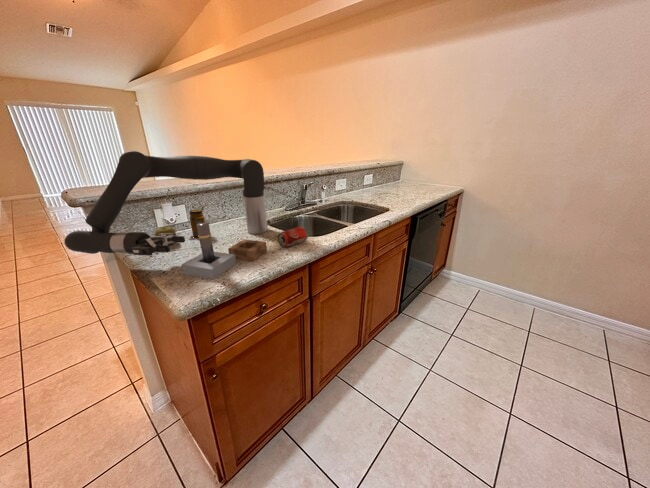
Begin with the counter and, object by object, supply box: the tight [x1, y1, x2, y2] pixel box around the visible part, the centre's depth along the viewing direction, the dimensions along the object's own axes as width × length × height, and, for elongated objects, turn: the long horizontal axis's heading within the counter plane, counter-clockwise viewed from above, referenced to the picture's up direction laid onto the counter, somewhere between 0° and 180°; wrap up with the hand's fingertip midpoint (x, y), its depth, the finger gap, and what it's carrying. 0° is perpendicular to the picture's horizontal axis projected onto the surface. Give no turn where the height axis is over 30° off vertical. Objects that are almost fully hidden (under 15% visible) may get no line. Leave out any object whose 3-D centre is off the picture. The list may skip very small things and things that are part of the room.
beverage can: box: [277, 225, 309, 248], centre depth 110 cm, size 7×12×7 cm, turn 137°
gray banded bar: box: [197, 222, 215, 264], centre depth 87 cm, size 4×4×16 cm
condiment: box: [189, 208, 206, 240], centre depth 119 cm, size 7×8×12 cm
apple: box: [154, 226, 177, 246], centre depth 111 cm, size 8×8×7 cm
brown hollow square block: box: [227, 239, 268, 262], centre depth 100 cm, size 10×10×4 cm
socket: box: [181, 251, 237, 280], centre depth 90 cm, size 12×12×4 cm
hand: (177, 243), depth 88 cm, fingers open, 8 cm apart
